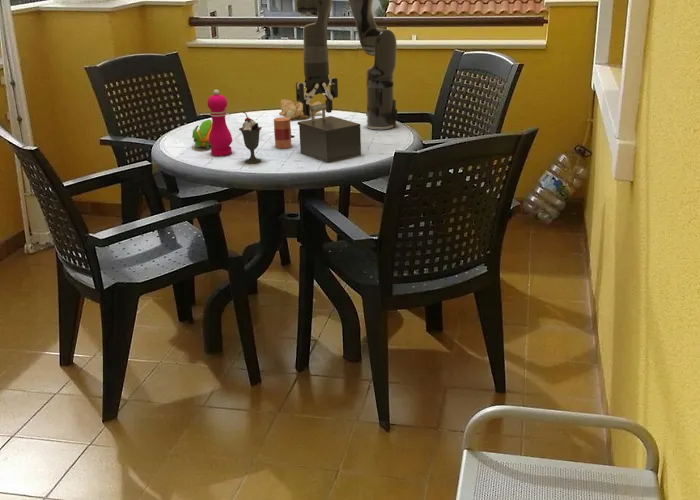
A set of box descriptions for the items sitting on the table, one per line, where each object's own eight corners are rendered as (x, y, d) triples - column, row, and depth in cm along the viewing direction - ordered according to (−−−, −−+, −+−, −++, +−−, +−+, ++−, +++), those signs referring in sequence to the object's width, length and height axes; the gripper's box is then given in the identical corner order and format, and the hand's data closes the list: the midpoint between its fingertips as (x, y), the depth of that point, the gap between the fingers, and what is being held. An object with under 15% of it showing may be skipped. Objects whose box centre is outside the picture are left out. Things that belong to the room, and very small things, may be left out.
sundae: (242, 158, 248) (238, 110, 242) (264, 157, 248) (260, 109, 243) (241, 164, 242) (237, 114, 236) (263, 163, 242) (260, 113, 236)
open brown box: (300, 153, 252) (299, 125, 249) (333, 146, 259) (332, 118, 256) (327, 162, 241) (326, 133, 238) (361, 155, 248) (360, 126, 245)
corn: (189, 127, 255) (199, 113, 273) (189, 151, 257) (199, 135, 276) (212, 128, 255) (221, 114, 273) (213, 152, 258) (221, 136, 276)
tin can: (289, 144, 263) (287, 116, 260) (293, 147, 259) (292, 119, 255) (273, 145, 262) (271, 118, 258) (277, 149, 257) (275, 121, 254)
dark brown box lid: (297, 124, 250) (296, 106, 248) (331, 118, 256) (330, 100, 254) (326, 133, 238) (325, 114, 236) (360, 126, 245) (360, 108, 243)
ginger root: (267, 117, 295) (269, 94, 294) (286, 118, 310) (288, 97, 308) (306, 121, 290) (308, 98, 288) (324, 122, 304) (326, 100, 303)
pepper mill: (228, 156, 250) (223, 92, 243) (206, 156, 252) (200, 91, 244) (236, 150, 257) (231, 87, 249) (214, 150, 258) (209, 87, 251)
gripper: (302, 64, 238) (305, 119, 244) (342, 58, 245) (344, 112, 251) (289, 61, 243) (291, 115, 249) (328, 56, 251) (330, 109, 257)
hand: (318, 114), depth 250 cm, fingers open, 7 cm apart
